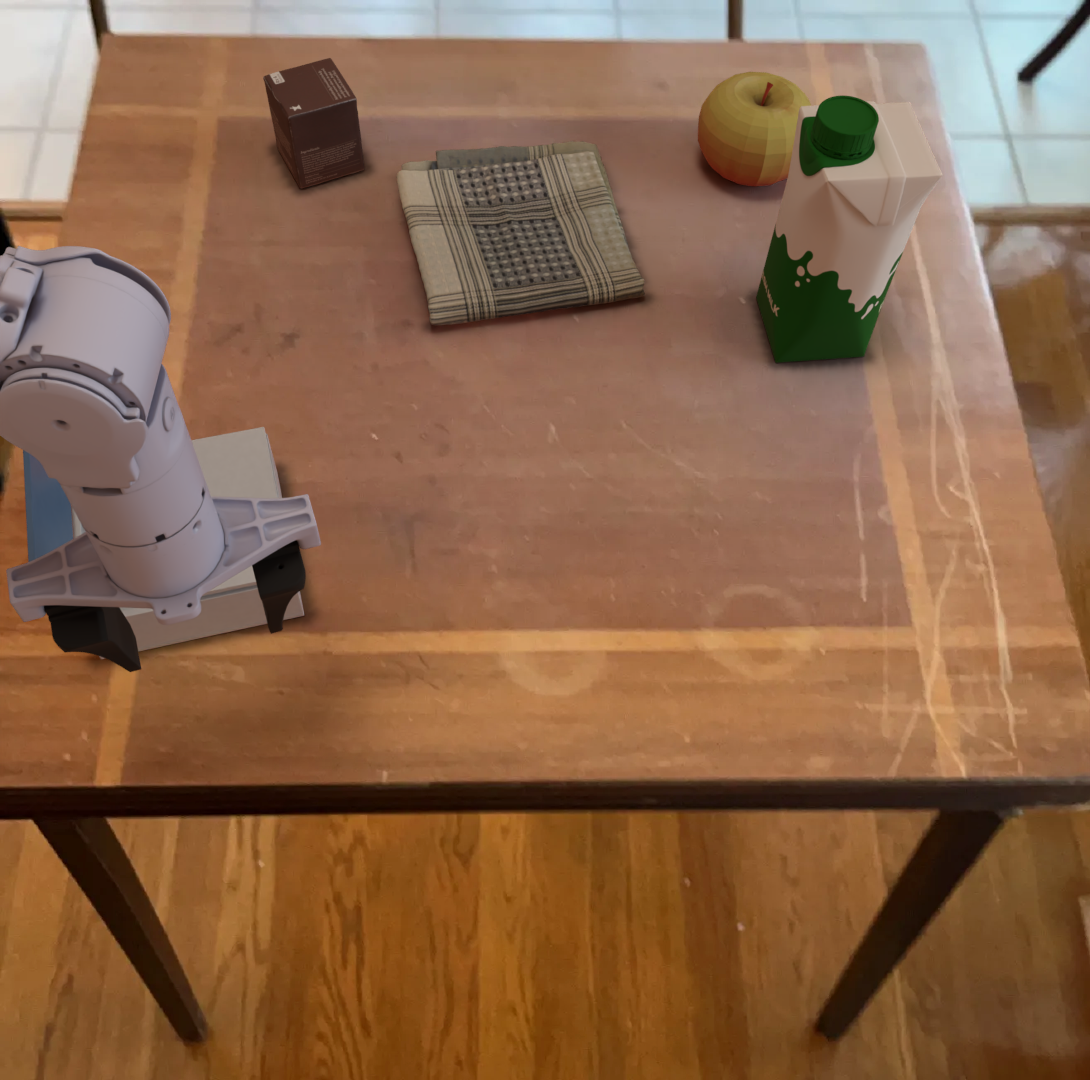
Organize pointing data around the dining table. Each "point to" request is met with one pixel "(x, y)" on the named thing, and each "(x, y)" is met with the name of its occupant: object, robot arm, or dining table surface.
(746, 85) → the apple
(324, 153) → the box
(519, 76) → the dining table surface
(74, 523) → the carton
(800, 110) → the milk carton
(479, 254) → the dish towel
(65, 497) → the flap
